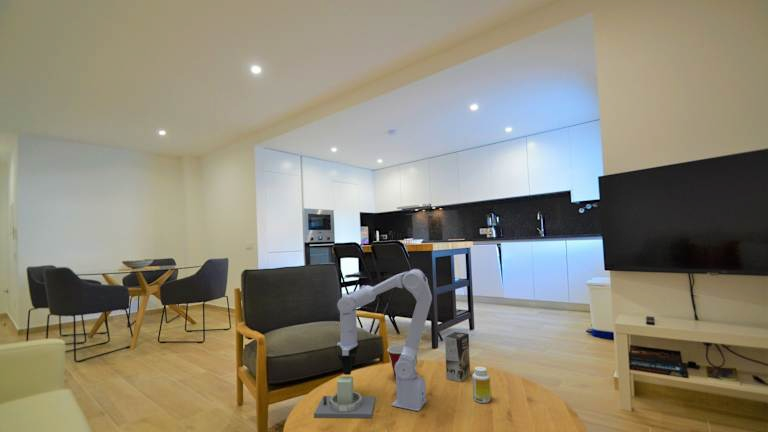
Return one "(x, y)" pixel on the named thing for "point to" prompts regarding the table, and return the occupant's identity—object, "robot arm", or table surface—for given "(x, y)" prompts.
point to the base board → (361, 412)
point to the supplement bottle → (481, 385)
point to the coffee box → (457, 356)
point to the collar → (343, 407)
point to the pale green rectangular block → (345, 390)
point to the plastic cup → (395, 354)
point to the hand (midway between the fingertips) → (349, 370)
